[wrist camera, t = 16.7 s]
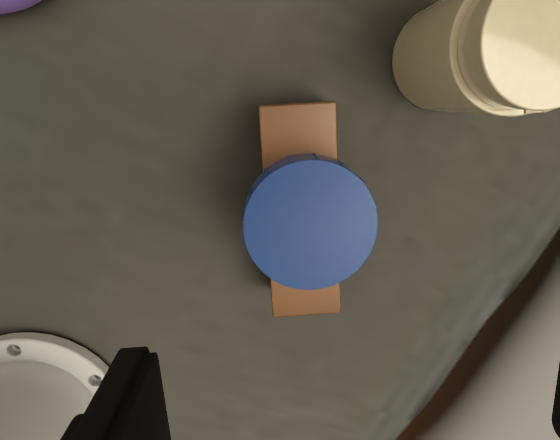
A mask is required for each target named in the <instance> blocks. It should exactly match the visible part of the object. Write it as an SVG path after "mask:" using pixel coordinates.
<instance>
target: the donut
mask: <svg viewBox="0 0 560 440" xmlns="http://www.w3.org/2000/svg"><path fill="white" fill-rule="evenodd" d="M40 1H42V0H0V14H6V13H14V12H17V11H20V10H24V9H27V8H30V7H32V6H33V5H35V4H37V3H39V2H40Z"/></svg>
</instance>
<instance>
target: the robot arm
mask: <svg viewBox="0 0 560 440" xmlns="http://www.w3.org/2000/svg"><path fill="white" fill-rule="evenodd" d="M552 424H553V427H554V430H555V432H556V434H557V435H558V437H559V438H560V364H559V371H558V378H557V385H556V392H555V399H554V406H553V413H552ZM0 440H171V437H170V430H169V424H168V417H167V411H166V405H165V398H164V392H163V385H162V379H161V372H160V366H159V360H158V355H157V353H156V352H155V353H150V352H149V349H148V348H147V347H133V348H122V349H120V350H119V351H118V353H117V355H116V356H115V358H114V360H113V362H112V364H111V365H110V367H108V366H107V365H106V364H105V363H104V362H103V361H102V360H101V359H100V358H99V357H98V356H96V355H95V354H93V353H92V352H90V351H89V350H88V349H86V348H85V347H82V346H80V345H78V344H76V343H74V342H72V341H70V340H67V339H64V338H61V337H57V336H54V335H50V334H43V333H35V332H21V333H10V334H5V335H1V336H0Z"/></svg>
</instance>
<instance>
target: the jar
mask: <svg viewBox="0 0 560 440" xmlns="http://www.w3.org/2000/svg"><path fill="white" fill-rule="evenodd" d="M392 69H393V74H394V78H395V81H396V84H397V86H398V88H399V89H400V91H401V93H402V94H403V95H404V96H405V97H406V98H407V99H408V100H409V101H410V102H411V103H413V104H414V105H416V106H418V107H420V108H423V109H426V110H431V111H441V112H454V113H466V114H479V115H492V116H504V117H514V116H522V115H526V114H530V113H542V112H547V111H550V110H553V109H557V108H560V0H439V1H437V2H435V3H433V4H432V5H430V6H428V7H426V8H424V9H423V10H421V11H419V12H418V13H417V14H415V15H414V16H413V17H412V18H411V19H410V20H409V21H408V22H407V23H406V24H405V26H404V27H403V29H402V30H401V32H400V33H399V36H398V38H397V40H396V43H395V46H394V50H393V57H392Z"/></svg>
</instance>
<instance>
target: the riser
mask: <svg viewBox="0 0 560 440" xmlns="http://www.w3.org/2000/svg"><path fill="white" fill-rule="evenodd" d="M259 123H260V137H261V152H262V166H263V171H265V168H266V167H267V168H268V167H269V166H271V165H272V164H274V163H276V162H277V161H279V160H281V159H284V158H286V157H287V156H288V155H289V156H293V155H299V154H313V153H315V154H318V155H322V156H326V157H329V158H332V159H334V160H336V161H337V160H338V157H337V106H336V102H334V101H314V102H297V103H281V104H264V105H259ZM270 283H271V298H272V312H273V317H285V316H299V315H312V314H326V313H339V312H340V311H341V309H340V283H337V284H335V285H333V286H330V287H326V288H322V289H315V290H302V289H295V288H290V287H287V286H284V285H282V284H280V283H277V282H275V281H274V280H272V279H271V278H270Z"/></svg>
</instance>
